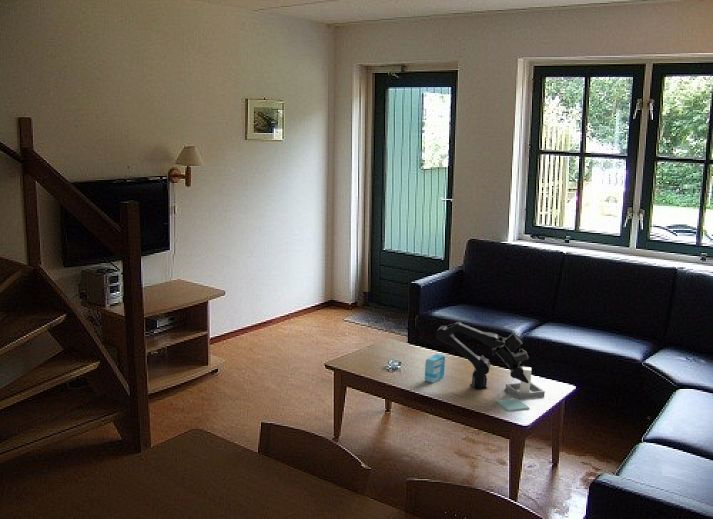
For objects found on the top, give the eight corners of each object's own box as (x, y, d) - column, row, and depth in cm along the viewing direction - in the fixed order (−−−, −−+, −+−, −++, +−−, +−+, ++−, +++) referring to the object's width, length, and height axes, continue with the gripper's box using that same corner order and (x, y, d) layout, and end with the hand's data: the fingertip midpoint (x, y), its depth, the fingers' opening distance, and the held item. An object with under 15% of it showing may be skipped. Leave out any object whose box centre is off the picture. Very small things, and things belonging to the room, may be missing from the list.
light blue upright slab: (431, 383, 350) (433, 361, 348) (424, 381, 353) (425, 359, 351) (444, 377, 360) (445, 355, 357) (436, 375, 362) (437, 353, 360)
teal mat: (508, 411, 320) (508, 409, 320) (496, 402, 330) (496, 400, 330) (529, 409, 323) (529, 407, 323) (517, 400, 334) (517, 398, 333)
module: (519, 393, 341) (522, 369, 339) (519, 390, 346) (521, 366, 343) (529, 394, 340) (531, 370, 338) (529, 391, 345) (531, 367, 342)
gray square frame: (518, 398, 335) (519, 394, 334) (505, 388, 347) (505, 384, 347) (544, 396, 339) (544, 391, 339) (530, 386, 351) (530, 381, 351)
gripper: (519, 351, 330) (541, 376, 330) (519, 340, 348) (540, 363, 348) (501, 365, 334) (523, 390, 333) (502, 353, 351) (522, 376, 351)
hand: (527, 379), depth 341 cm, fingers open, 9 cm apart
